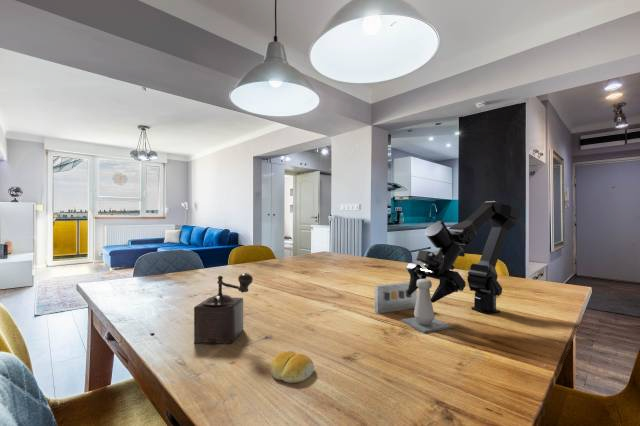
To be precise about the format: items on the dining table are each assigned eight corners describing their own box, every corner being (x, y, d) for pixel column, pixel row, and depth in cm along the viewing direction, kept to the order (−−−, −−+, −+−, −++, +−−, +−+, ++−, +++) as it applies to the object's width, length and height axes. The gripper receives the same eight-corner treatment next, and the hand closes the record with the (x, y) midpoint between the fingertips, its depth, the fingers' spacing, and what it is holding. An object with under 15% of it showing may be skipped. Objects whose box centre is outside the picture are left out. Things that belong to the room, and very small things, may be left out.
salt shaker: (431, 328, 86) (430, 282, 86) (411, 323, 90) (411, 280, 90) (436, 322, 91) (436, 279, 91) (417, 318, 94) (417, 276, 94)
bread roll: (286, 359, 70) (286, 342, 70) (319, 370, 65) (319, 351, 65) (261, 376, 63) (261, 356, 63) (296, 389, 58) (296, 368, 58)
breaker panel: (413, 306, 108) (413, 281, 108) (418, 308, 106) (418, 283, 106) (374, 311, 103) (374, 285, 103) (379, 314, 100) (378, 287, 100)
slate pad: (427, 317, 97) (427, 315, 97) (451, 328, 88) (451, 326, 88) (401, 321, 93) (401, 319, 93) (423, 333, 84) (423, 330, 84)
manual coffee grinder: (191, 344, 77) (191, 274, 77) (209, 328, 88) (209, 267, 88) (250, 346, 77) (250, 275, 77) (261, 329, 88) (261, 267, 88)
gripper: (410, 238, 100) (384, 274, 95) (458, 243, 84) (430, 287, 79) (427, 260, 104) (403, 296, 99) (477, 269, 87) (451, 313, 82)
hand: (419, 297), depth 90 cm, fingers open, 9 cm apart
